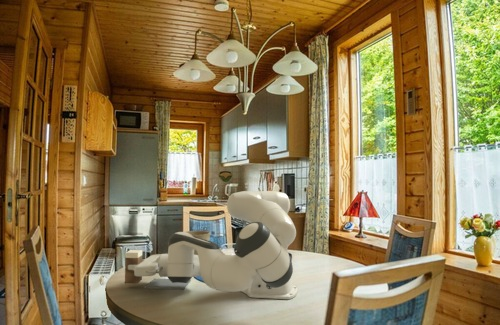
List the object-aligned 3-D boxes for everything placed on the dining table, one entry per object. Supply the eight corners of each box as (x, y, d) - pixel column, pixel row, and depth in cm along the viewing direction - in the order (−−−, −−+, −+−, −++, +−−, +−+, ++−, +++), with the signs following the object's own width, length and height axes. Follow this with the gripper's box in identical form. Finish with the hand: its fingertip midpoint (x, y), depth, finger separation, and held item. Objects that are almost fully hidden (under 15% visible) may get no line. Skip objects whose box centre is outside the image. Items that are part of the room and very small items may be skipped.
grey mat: (190, 280, 143) (190, 279, 143) (184, 289, 132) (184, 287, 132) (153, 280, 144) (153, 278, 144) (144, 288, 133) (144, 286, 133)
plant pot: (211, 260, 178) (212, 230, 179) (207, 268, 163) (208, 235, 164) (183, 260, 178) (184, 230, 179) (177, 267, 164) (177, 235, 164)
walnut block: (141, 279, 136) (142, 250, 137) (137, 283, 131) (137, 252, 132) (129, 279, 137) (130, 249, 137) (124, 283, 132) (125, 252, 132)
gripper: (157, 281, 123) (120, 280, 124) (172, 266, 144) (140, 266, 144) (157, 263, 124) (121, 263, 124) (172, 251, 144) (140, 251, 145)
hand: (131, 264), depth 134 cm, fingers closed on walnut block, 5 cm apart
